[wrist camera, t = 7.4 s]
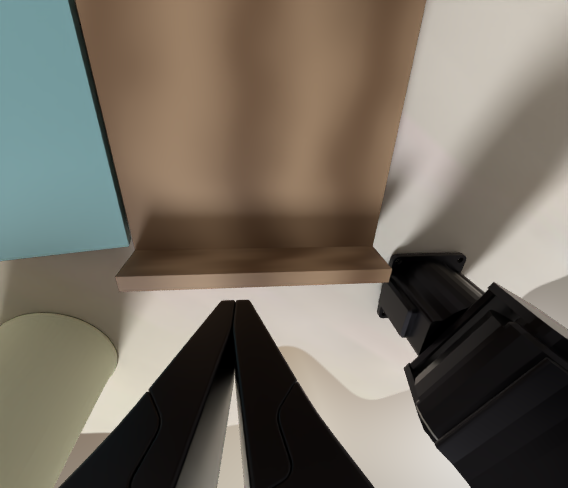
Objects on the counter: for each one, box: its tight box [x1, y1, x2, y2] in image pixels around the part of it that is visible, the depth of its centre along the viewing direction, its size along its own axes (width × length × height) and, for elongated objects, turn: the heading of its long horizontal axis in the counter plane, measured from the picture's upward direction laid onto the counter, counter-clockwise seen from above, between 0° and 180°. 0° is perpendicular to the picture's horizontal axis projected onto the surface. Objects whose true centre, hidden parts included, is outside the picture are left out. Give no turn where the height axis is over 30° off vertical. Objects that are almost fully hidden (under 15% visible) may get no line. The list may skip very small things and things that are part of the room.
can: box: [0, 313, 117, 488], centre depth 18 cm, size 9×9×12 cm
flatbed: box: [75, 0, 426, 292], centre depth 14 cm, size 16×20×5 cm
